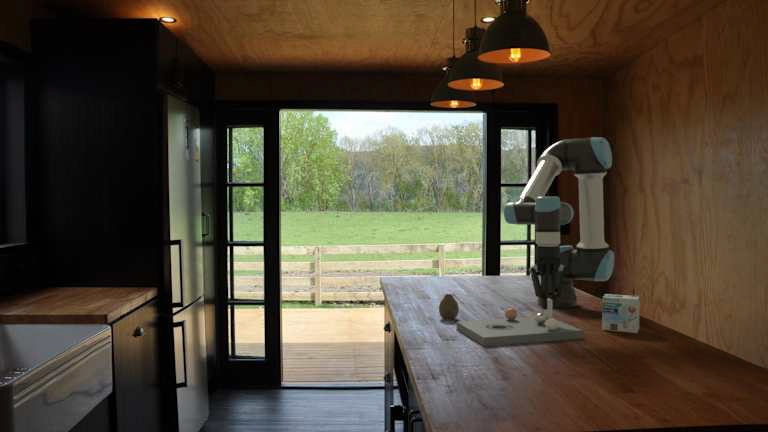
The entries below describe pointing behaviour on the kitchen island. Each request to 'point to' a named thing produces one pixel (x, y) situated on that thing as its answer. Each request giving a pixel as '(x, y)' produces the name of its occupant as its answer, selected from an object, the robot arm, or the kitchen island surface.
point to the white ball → (551, 324)
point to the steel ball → (540, 318)
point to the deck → (516, 331)
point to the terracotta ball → (511, 313)
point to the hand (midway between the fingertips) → (548, 319)
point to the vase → (448, 307)
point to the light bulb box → (620, 313)
